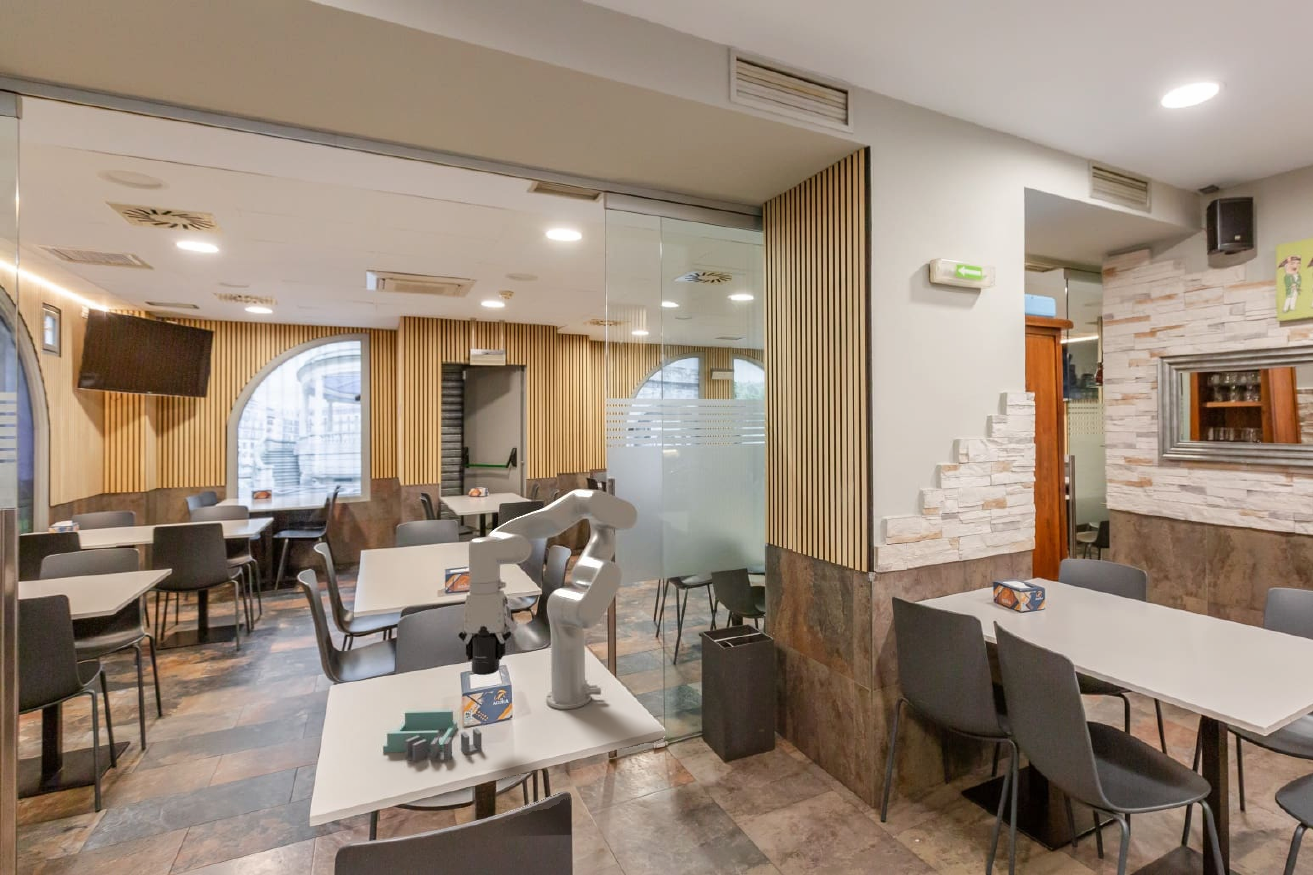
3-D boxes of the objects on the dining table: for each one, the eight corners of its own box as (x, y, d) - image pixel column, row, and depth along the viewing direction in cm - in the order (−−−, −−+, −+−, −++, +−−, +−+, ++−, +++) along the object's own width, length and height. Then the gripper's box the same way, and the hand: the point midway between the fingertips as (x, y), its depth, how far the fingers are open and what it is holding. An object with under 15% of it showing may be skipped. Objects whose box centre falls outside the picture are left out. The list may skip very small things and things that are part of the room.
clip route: (484, 745, 150) (484, 727, 150) (475, 762, 143) (475, 743, 143) (414, 746, 150) (413, 729, 150) (401, 763, 142) (401, 745, 142)
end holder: (457, 727, 160) (456, 709, 160) (442, 751, 148) (441, 732, 148) (402, 728, 160) (402, 711, 160) (383, 752, 148) (382, 733, 148)
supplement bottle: (474, 677, 151) (473, 628, 151) (469, 668, 157) (468, 621, 157) (502, 672, 154) (502, 624, 154) (496, 663, 160) (495, 617, 160)
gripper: (522, 583, 159) (523, 652, 159) (454, 584, 159) (455, 653, 159) (516, 590, 152) (517, 662, 152) (445, 591, 152) (446, 664, 152)
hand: (485, 657), depth 155 cm, fingers closed on supplement bottle, 6 cm apart
